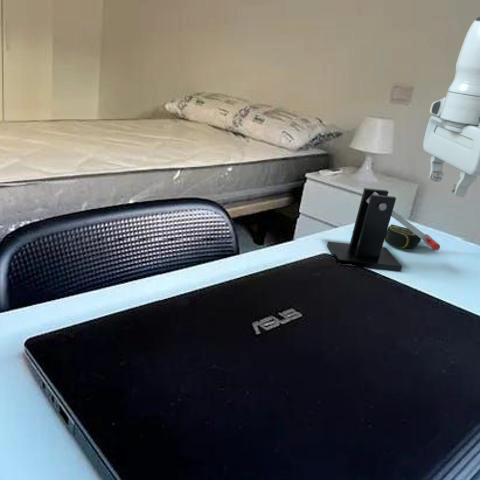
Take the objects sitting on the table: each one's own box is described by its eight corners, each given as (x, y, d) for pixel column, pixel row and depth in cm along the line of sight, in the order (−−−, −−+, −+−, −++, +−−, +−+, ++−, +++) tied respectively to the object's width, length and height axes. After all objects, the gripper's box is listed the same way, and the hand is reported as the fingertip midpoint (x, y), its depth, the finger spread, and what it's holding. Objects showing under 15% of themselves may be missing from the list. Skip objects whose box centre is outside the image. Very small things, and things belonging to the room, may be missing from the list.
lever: (423, 243, 100) (432, 234, 100) (434, 253, 96) (443, 244, 95) (363, 198, 98) (372, 189, 97) (371, 206, 93) (381, 197, 92)
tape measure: (419, 246, 109) (424, 230, 107) (411, 255, 104) (416, 238, 102) (387, 237, 113) (391, 221, 111) (378, 245, 108) (382, 228, 106)
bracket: (384, 252, 104) (402, 189, 98) (400, 271, 96) (421, 203, 90) (326, 246, 104) (341, 183, 99) (337, 265, 96) (355, 197, 91)
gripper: (524, 124, 77) (493, 207, 83) (460, 105, 96) (438, 175, 102) (483, 119, 78) (455, 203, 83) (427, 102, 96) (407, 171, 102)
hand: (445, 187), depth 93 cm, fingers open, 8 cm apart
